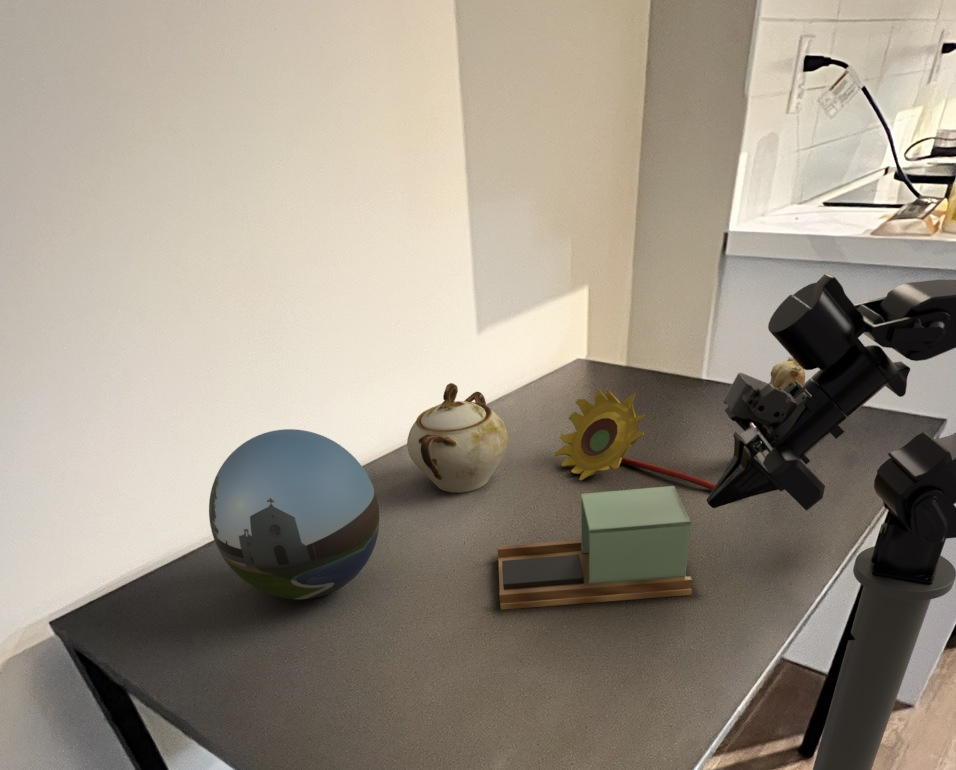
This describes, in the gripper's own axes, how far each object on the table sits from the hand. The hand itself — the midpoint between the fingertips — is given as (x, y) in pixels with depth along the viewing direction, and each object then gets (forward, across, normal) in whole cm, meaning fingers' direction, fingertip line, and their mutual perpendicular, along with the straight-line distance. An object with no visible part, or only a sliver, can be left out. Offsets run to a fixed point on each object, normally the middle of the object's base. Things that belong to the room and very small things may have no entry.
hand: (709, 504), depth 85 cm
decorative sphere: (+40, -3, -28) cm, 49 cm away
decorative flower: (+8, -26, +4) cm, 28 cm away
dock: (+16, 0, -4) cm, 16 cm away
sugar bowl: (+27, -30, -15) cm, 43 cm away
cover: (+11, 0, -1) cm, 11 cm away
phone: (+19, 0, -8) cm, 21 cm away
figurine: (-4, -25, +16) cm, 30 cm away
